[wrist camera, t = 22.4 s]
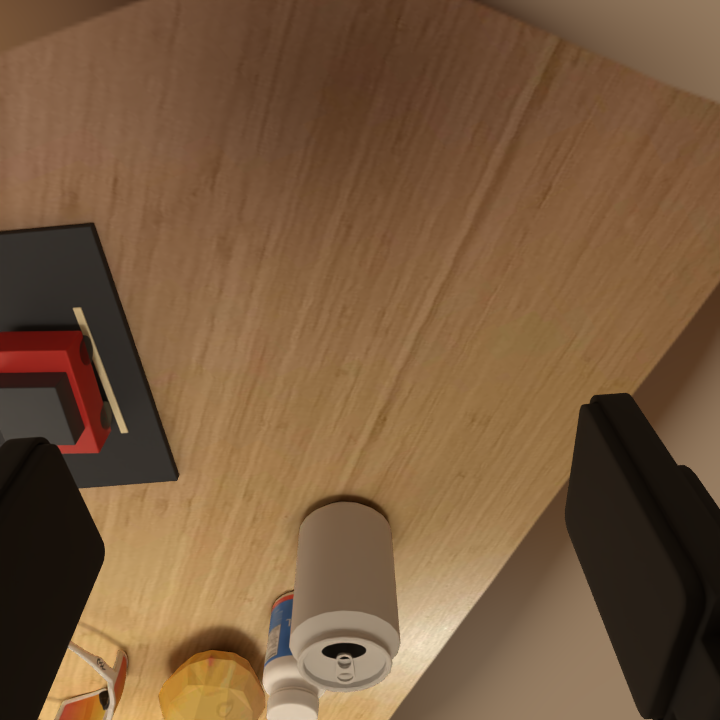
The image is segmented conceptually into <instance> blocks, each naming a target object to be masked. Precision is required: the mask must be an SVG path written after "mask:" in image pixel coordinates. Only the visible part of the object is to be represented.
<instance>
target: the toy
mask: <svg viewBox="0 0 720 720" xmlns="http://www.w3.org/2000/svg"><path fill="white" fill-rule="evenodd" d="M158 696H159V701H160V707H161V710H162V714H163V717H164V720H257V719H258V718H259V716H260V715H261V713H262V712H263V710H264V709H265V694H264V691H263V689H262V687H261V685H260V682H259V680H258V678H257V676H256V674H255V672H254V670H253V669H252V667H251V665H250V663H249V661H248V660H246V659H244V658H243V657H241V656H239V655H237V654H235V653H232V652H224V651H216V650H209V651H205V652H201V653H197V654H194V655H193V656H192V657H191V658H190V659H188V660H187V661H186V662H185V663H184V664H182V665H181V666H180V667H179V668H178V669H177V670H176V671H175V672H174V673H173V674H172V675H171V676H170V678H169V679H168V680H167V681H166V682H165V683H164V684H163V687H162V689H161V691H160V693H159V695H158Z"/></svg>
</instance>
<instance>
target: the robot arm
mask: <svg viewBox="0 0 720 720" xmlns="http://www.w3.org/2000/svg"><path fill="white" fill-rule="evenodd" d="M565 521H566V526H567V530H568V533H569V536H570V538H571V541H572V543H573V546H574V549H575V551H576V554H577V556H578V559H579V561H580V564H581V566H582V569H583V571H584V574H585V576H586V579H587V582H588V584H589V587H590V589H591V592H592V595H593V597H594V600H595V602H596V605H597V607H598V610H599V612H600V615H601V617H602V620H603V623H604V625H605V628H606V630H607V633H608V635H609V638H610V641H611V643H612V646H613V648H614V651H615V653H616V656H617V658H618V661H619V664H620V666H621V669H622V671H623V674H624V676H625V679H626V681H627V684H628V686H629V689H630V692H631V694H632V697H633V699H634V702H635V704H636V707H637V709H638V711H639V713H640V715H641V716H642V717H643V718H644V719H653V720H720V509H719V507H718V506H717V504H716V503H715V502H714V500H713V499H712V497H711V496H710V494H709V493H708V491H707V490H706V489H705V487H704V486H703V484H702V483H701V481H700V480H699V478H698V477H697V476H696V474H695V473H694V472H693V471H692V470H691V469H690V468H689V467H687V466H685V465H677V464H676V462H675V461H674V459H673V458H672V456H671V455H670V453H669V452H668V450H667V449H666V447H665V446H664V444H663V443H662V441H661V440H660V438H659V437H658V435H657V434H656V432H655V431H654V429H653V428H652V426H651V425H650V423H649V422H648V420H647V419H646V417H645V416H644V414H643V413H642V411H641V410H640V408H639V407H638V405H637V404H636V402H635V401H634V399H633V398H632V397H631V395H630V394H628V393H618V394H604V395H595V396H593V397H592V398H591V400H590V404H583V405H582V406H581V408H580V412H579V419H578V426H577V433H576V439H575V446H574V453H573V460H572V466H571V473H570V480H569V487H568V494H567V501H566V508H565ZM104 556H105V547H104V543H103V540H102V538H101V536H100V534H99V532H98V530H97V527H96V525H95V523H94V521H93V519H92V517H91V515H90V513H89V510H88V508H87V506H86V504H85V502H84V500H83V498H82V496H81V493H80V491H79V489H78V487H77V485H76V483H75V481H74V479H73V476H72V474H71V472H70V470H69V468H68V466H67V464H66V462H65V459H64V457H63V455H62V453H61V451H60V449H59V448H58V446H57V445H55V444H50V442H49V441H48V440H47V439H46V438H45V437H29V438H16V439H10V440H7V441H6V442H5V443H4V444H3V445H2V446H1V447H0V720H38V717H39V715H40V712H41V710H42V708H43V705H44V703H45V700H46V698H47V696H48V693H49V691H50V689H51V686H52V684H53V681H54V679H55V677H56V674H57V672H58V669H59V667H60V665H61V662H62V660H63V657H64V655H65V653H66V650H67V648H68V646H69V643H70V641H71V638H72V636H73V634H74V631H75V629H76V626H77V624H78V622H79V619H80V617H81V614H82V612H83V610H84V607H85V605H86V602H87V600H88V598H89V595H90V593H91V591H92V588H93V586H94V583H95V581H96V579H97V576H98V574H99V571H100V569H101V567H102V564H103V561H104Z"/></svg>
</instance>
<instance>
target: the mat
mask: <svg viewBox="0 0 720 720" xmlns="http://www.w3.org/2000/svg"><path fill="white" fill-rule="evenodd" d="M17 331H81V332H82V335H86V336H88V337H89V338H90V340H91V343H92V348H93V356H92V360H91V365H92V368H93V371H94V375H95V378H96V381H97V385H98V388H99V391H100V395H101V398H102V401H106V402H108V403H109V404H110V406H111V411H112V420H111V424H110V427H111V432H110V434H109V435H108V437H107V439H106V441H105V443H104V445H103V447H102V449H101V451H100V452H99V453H64V454H62V455H63V457H64V459H65V462H66V464H67V466H68V468H69V470H70V472H71V474H72V476H73V479H74V481H75V483H76V485H77V487H78V488H90V487H103V486H116V485H128V484H141V483H154V482H166V481H177V480H178V477H179V474H178V471H177V468H176V465H175V462H174V459H173V456H172V453H171V450H170V447H169V444H168V441H167V438H166V435H165V433H164V430H163V427H162V424H161V421H160V418H159V415H158V412H157V409H156V406H155V403H154V400H153V397H152V394H151V391H150V388H149V385H148V382H147V379H146V376H145V374H144V371H143V368H142V365H141V362H140V359H139V356H138V353H137V350H136V347H135V344H134V341H133V338H132V335H131V332H130V329H129V326H128V323H127V320H126V318H125V315H124V312H123V309H122V306H121V303H120V300H119V297H118V294H117V291H116V288H115V285H114V282H113V279H112V276H111V273H110V270H109V267H108V264H107V261H106V259H105V256H104V253H103V250H102V247H101V244H100V241H99V238H98V235H97V232H96V229H95V226H94V224H93V223H90V224H79V225H68V226H58V227H47V228H36V229H26V230H15V231H4V232H0V332H17ZM5 442H6V441H5V439H4V437H3V434H2V432H1V430H0V447H1V446H2V445H3V444H4V443H5Z"/></svg>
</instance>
